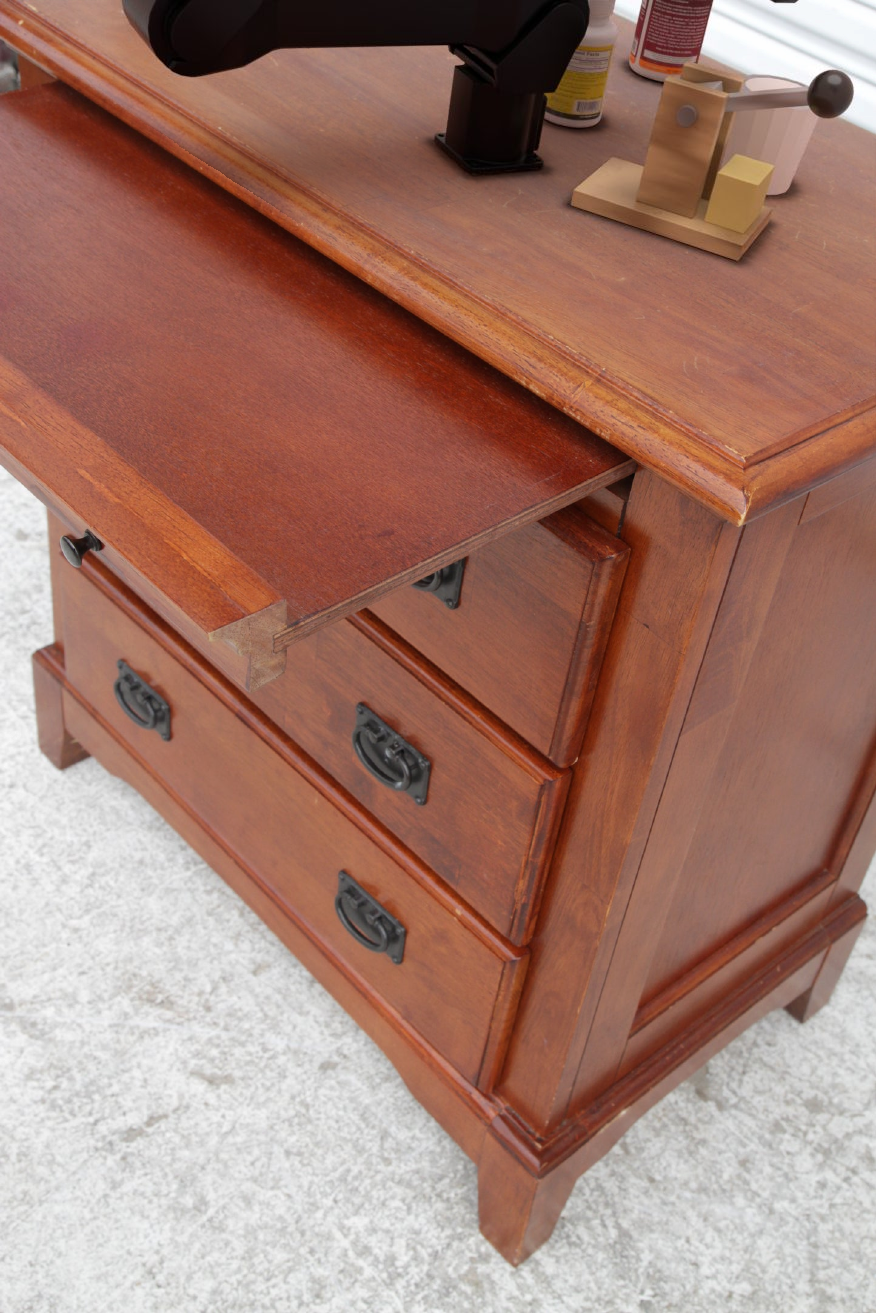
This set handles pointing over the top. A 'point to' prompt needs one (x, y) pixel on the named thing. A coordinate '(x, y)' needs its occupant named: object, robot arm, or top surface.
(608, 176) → the butter cutter
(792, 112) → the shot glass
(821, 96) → the lever
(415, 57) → the top surface
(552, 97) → the supplement bottle
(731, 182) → the butter
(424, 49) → the top surface
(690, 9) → the pill bottle
